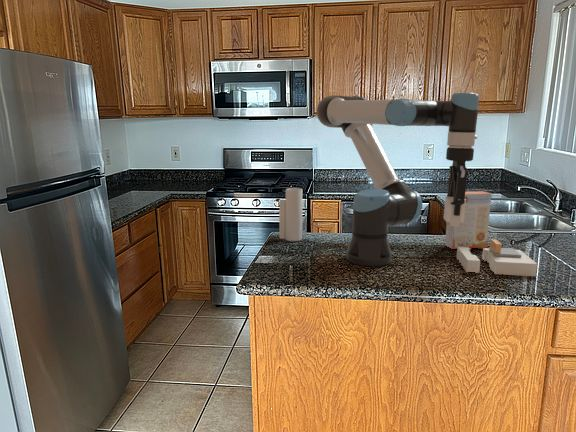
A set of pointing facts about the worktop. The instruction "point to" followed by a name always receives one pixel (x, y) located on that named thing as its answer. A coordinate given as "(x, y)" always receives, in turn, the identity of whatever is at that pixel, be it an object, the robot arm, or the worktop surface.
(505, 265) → the socket
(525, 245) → the worktop surface
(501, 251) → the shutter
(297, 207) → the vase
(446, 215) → the plug
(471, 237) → the cracker box
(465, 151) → the robot arm
